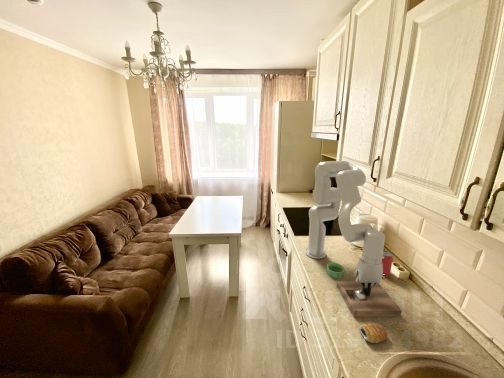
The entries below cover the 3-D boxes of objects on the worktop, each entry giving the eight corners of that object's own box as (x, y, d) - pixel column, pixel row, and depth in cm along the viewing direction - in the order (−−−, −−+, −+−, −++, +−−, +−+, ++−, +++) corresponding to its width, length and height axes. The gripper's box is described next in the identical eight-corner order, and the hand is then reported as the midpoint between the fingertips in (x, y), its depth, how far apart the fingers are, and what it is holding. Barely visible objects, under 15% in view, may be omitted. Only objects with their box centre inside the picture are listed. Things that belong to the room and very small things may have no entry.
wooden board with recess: (336, 286, 107) (337, 281, 106) (376, 286, 107) (377, 281, 107) (353, 316, 90) (354, 310, 89) (400, 316, 90) (401, 310, 89)
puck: (359, 296, 101) (352, 296, 101) (360, 287, 99) (354, 288, 99) (364, 305, 96) (358, 305, 96) (366, 296, 94) (359, 296, 94)
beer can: (387, 270, 120) (391, 251, 117) (391, 277, 114) (395, 257, 111) (374, 268, 122) (377, 249, 119) (377, 275, 116) (381, 255, 113)
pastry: (379, 327, 85) (380, 319, 84) (392, 342, 78) (393, 334, 77) (357, 329, 84) (358, 321, 83) (368, 345, 77) (369, 336, 76)
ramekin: (326, 267, 122) (326, 261, 121) (343, 271, 119) (344, 264, 118) (325, 277, 114) (326, 270, 113) (344, 281, 111) (344, 274, 110)
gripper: (383, 253, 97) (377, 287, 101) (350, 253, 96) (346, 288, 101) (394, 263, 89) (387, 299, 94) (358, 263, 89) (353, 300, 94)
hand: (365, 293), depth 97 cm, fingers closed
